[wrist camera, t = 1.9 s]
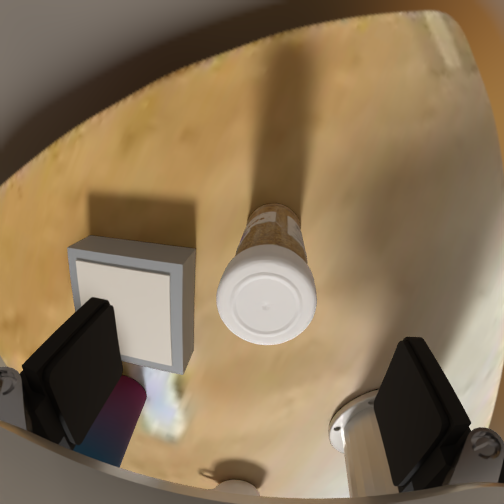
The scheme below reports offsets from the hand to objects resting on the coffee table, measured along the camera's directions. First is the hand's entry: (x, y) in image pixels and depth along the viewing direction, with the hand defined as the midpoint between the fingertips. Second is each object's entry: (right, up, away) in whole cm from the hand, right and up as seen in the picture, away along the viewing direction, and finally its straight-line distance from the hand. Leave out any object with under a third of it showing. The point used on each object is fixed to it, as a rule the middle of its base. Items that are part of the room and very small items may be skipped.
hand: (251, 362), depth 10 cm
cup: (-15, -14, +25) cm, 32 cm away
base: (-11, -1, +20) cm, 23 cm away
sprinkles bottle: (+2, +5, +17) cm, 18 cm away
